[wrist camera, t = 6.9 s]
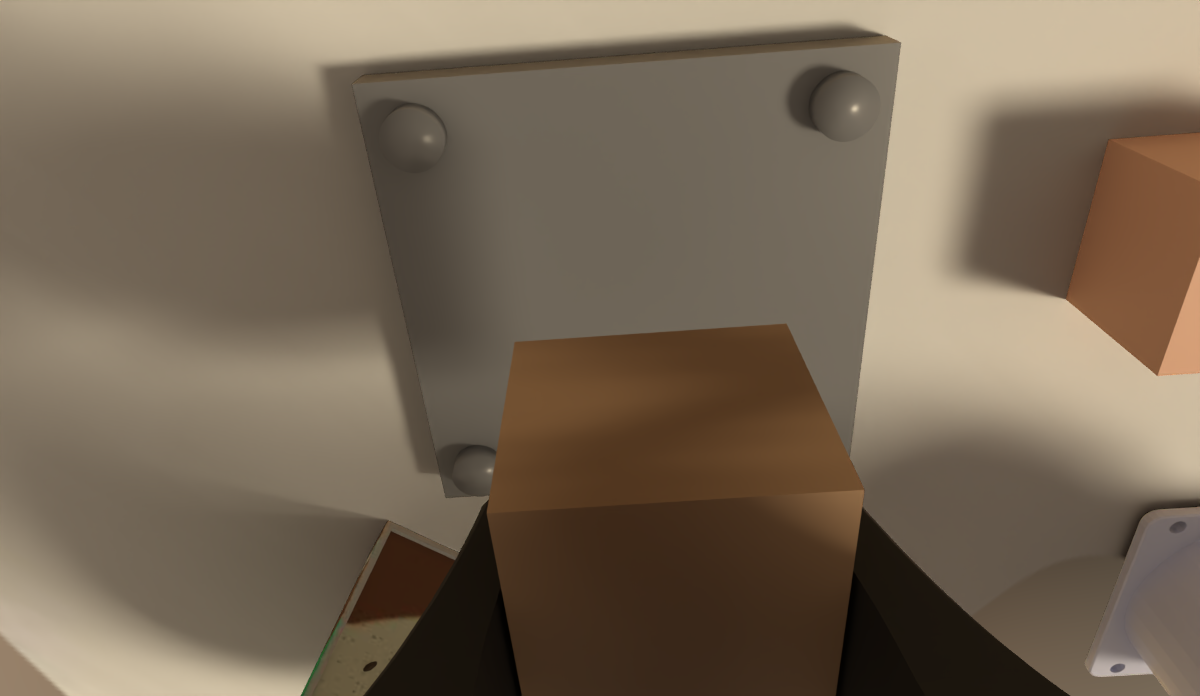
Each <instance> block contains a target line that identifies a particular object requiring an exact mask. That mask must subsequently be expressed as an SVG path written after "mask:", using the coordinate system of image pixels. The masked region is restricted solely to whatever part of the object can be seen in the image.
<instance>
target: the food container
mask: <svg viewBox="0 0 1200 696" xmlns="http://www.w3.org/2000/svg"><path fill="white" fill-rule="evenodd" d="M458 554H459V553H458V552H456V551H454V550H452V549H449V548H447V547H445V546H443V545H441V544H439V543H436V542H434V541H432V540H430V539H428V538H425V537H423V536H421V535H419V534H417V533H415V532H412V531H410V530H408V529H406V528H404V527H402V526H399V525H397V524H395V523H393V522H391V521H387V523H386V525H385V526H384V528H383V530H382V532H381V533H380V535H379V537H378V539H377V540H376V542H375V544H374V546H373V548H372V550H371V552H370V554H369V556H368V558H367V560H366V563H365V565H364V567H363V569H362V571H361V573H360V575H359V577H358V579H357V581H356V583H355V585H354V587H353V589H352V591H351V593H350V595H349V598H348V600H347V602H346V604H345V606H344V608H343V610H342V612H341V614H340V616H339V618H338V620H337V622H336V624H335V626H334V628H333V630H332V633H331V635H330V637H329V639H328V641H327V643H326V645H325V647H324V649H323V651H322V653H321V655H320V657H319V659H318V661H317V663H316V665H315V668H314V670H313V672H312V674H311V676H310V678H309V680H308V682H307V684H306V686H305V688H304V690H303V692H302V694H301V696H363V695H364V694H365V693H366V691H367V690H368V689H369V688H370V686H371V685H372V684H373V683H374V681H375V680H376V679H377V678H378V676H379V675H380V674H381V672H382V671H383V670H384V668H385V667H386V666H387V664H388V663H389V662H390V660H391V659H392V658H393V656H394V655H395V653H396V652H397V651H398V649H399V648H400V646H401V645H402V643H403V642H404V641H405V639H406V638H407V636H408V635H409V633H410V632H411V630H412V629H413V627H414V626H415V624H416V623H417V621H418V620H419V618H420V617H421V615H422V614H423V612H424V611H425V609H426V608H427V606H428V605H429V603H430V602H431V600H432V598H433V597H434V595H435V593H436V592H437V590H438V588H439V587H440V585H441V583H442V582H443V580H444V578H445V577H446V575H447V573H448V572H449V570H450V568H451V567H452V565H453V563H454V561H455V559H456V558H457V556H458Z"/></svg>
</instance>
